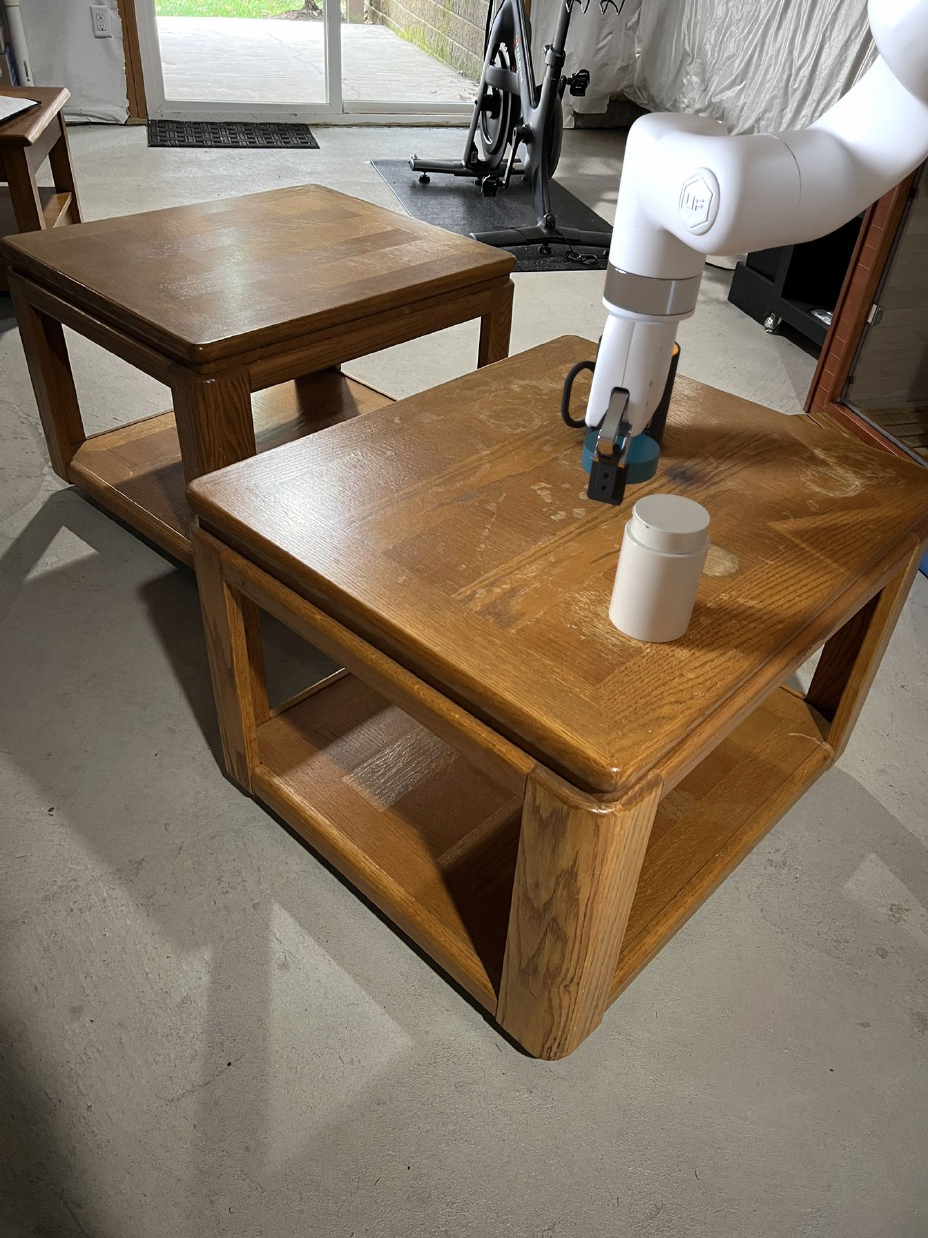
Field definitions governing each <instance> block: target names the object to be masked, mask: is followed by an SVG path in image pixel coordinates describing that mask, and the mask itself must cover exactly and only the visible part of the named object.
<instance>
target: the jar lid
mask: <svg viewBox="0 0 928 1238" xmlns="http://www.w3.org/2000/svg"><path fill="white" fill-rule="evenodd" d="M599 433H600V430H598V431H594V432H592V433H590V434H589V435H587V436H586V435H585V437H584V440H583V445H582V452H581V458H580V459H581V460H580V465H581V467H582V469H583V470H584V471H585V473H586V474H588V475H590V472H591V466H592V460H593V456H594V452H595V449H596V445H597V441H598V437H599ZM624 439H625V437H622V436H618V435H617V443H616V444H619V445H620V448H621V451H622V447H623V443H624ZM660 454H661V447H660V446H659V445H658V444H657V442H655V441H654V440H653V439H652V438H650V437H648V436H646V435H644V434H641V433H640V434H639V435H637V436H634V437H633V441H632V444H631V448H630V452H629V455H628V459H627V463H626V464H630V467H629V472H628V477H627V482H626V486H627V485H629V486H630V485H638V484H643V483H645V482H649V481H650V480H652V479H653V478H654V477H655V476H656V473H657V470H658V466H659V462H660V461H659V460H660Z"/></svg>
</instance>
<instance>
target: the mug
mask: <svg viewBox="0 0 928 1238" xmlns="http://www.w3.org/2000/svg"><path fill="white" fill-rule="evenodd" d="M602 336H603V333H602V334H601V335H600V336H599V338H598V342H597V348H596V355H595V361H592V360H582V361H579V362H578V363H576V364H575V365H573V367H572V368H571V369H570V370H569V372H568V374H566V375H567V376H566V378H565V379H564V383H563V390H562V396H561V404H560V414H561V418H562V421H563V422H564V424H565V425H566V426H567V427H568V428H572V429H582V428H584V435H585V437H586V436H587V435H589V434H590V433H592V432H594V431H598V430H600V429H601V426H602V422H603V418H604V417H603V418H602V419H601V421H600V422H599V424H598V425H597V426H596V427H595V426H593V427H588V426H587V424H586V422H585V418H586V416H585V417H584V418H583V419H580V420H574V419H573V418H572V416H571V415H570V404H571V403H570V402H571V395H572V388H573V383H574V381H575V379H576V377H577V376H578V374H579V373H581V372H582V371H583V370H585V369H587V370H589V371H590V372H591V373H592V378H593V377H594V372H595V367H596V363H597V358H598V353H599V349H600V344H601V340H602ZM681 351H682V350H681V345H680V344H679V342H677V340H675V345H674V350H673V354H672V359H671V364H670V368H669V373H668V377H667V381H666V385H665V388H664V392H663V395H662V398H661V400H660V403H659V405H658V406H657V408H656V410H655V412H654V413H653V415H652V420H651V424H650V427H649V428H647V427H645V428H646V429H650V430H651V431H650V436H649V437H650V438H652V439H653V440H654V441H655V442H657V444H658V445H659V447H660V446H662V443H663V437H664V432H665V428H666V423H667V419H668V415H669V409H670V405H671V401H672V400H671V399H672V394H673V390H674V386H675V379H676V375H677V372H678V371H677V370H678V366H679V361H680V356H681ZM592 382H593V380H592ZM592 382H591V383H592ZM622 423H625V422H622Z"/></svg>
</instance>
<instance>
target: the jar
mask: <svg viewBox="0 0 928 1238" xmlns="http://www.w3.org/2000/svg"><path fill="white" fill-rule="evenodd" d="M631 514H632V517H631V518H629V520H627V522H626V523H625V525H624V531H623V534H622V535H623V536H622V541H621V546H620V551H619V557H618V562H617V567H616V572H615V575H614V576H615V577H614V580H613V581H614V582H613V586H612V591H611V596H610V597H611V598H610V601H609V606H608V617H609V620H610V622H611V624H613V626H614V627H615V628H616V629H617V630H619V631H620V632H621V633H623V634H624V635H626V636H628V637H631V638H632V639H635V640H638V641H642V642H646V643H657V644H659V643H669V642H672V641H673V642H674V641H675V640H678V639H680V638H681V637H683V636H684V635H685V634H686V633H687V631H688V630H689V626H690V623H691V619H692V615H693V612H694V607H695V604H696V600H697V596H698V592H699V588H700V586H701V585H700V584H701V582H702V581H701V580H702V577H703V574H704V569H705V566H706V562H707V558H708V555H709V550H710V547H711V540H712V539H711V536H710V533H709V528H710V525H711V521H712V519H711V515H710V513H709V511H708V510H707V509H706V508H705V507H704V506H703V505H702V504H700V503H698V502H697V501H695V500H693V499H691V498H688V497H684V496H681V495H678V494H677V495H676V494H672V493H671V494H670V493H656V494H649V495H646V496H643V497H641V498H640V499H638V500H637V501H636V502H635V504H634V505H633V506H632V510H631Z"/></svg>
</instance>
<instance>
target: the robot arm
mask: <svg viewBox="0 0 928 1238" xmlns="http://www.w3.org/2000/svg"><path fill="white" fill-rule="evenodd" d="M867 19H868V24H869V28H870V32H871V35H872V39H873V42H874V43H875V46H876V48H877V50H878V52H879V53H878V55H877V57H876V59H875V60H874V61H873V63H872V64H871V65H870V67H869V69H867V71H866V72H865V73H864V74H863V76H862V77H861V78H860V79H859V80H858V81H857V82H856V83H855V84H854V85H853V86H852V87H851V88H850V89H849V90H848V91H847V92H846V93H845V94H844V95H843V96H842V97H840V99H839V100H837V101H836V103H834V104H833V105H832V106H831V107H830V108H829V109H828V110H827V111H826V112H824V113H823V114H822V115H821V116H819V118H818V119H817V120H815V121H814V122H813V123H811V124H810V125H809V126H808V127H806V128H805V129H792V130H779V131H769V132H757V133H752V134H741V135H730V134H729V131H728V129H727V127H726V126H725V125H724V124H723V123H721V122H719V121H718V120H716V119H713V118H710V117H707V116H703V115H699V114H693V113H686V112H675V111H664V112H663V111H659V112H650V113H646V114H643V115H641V116H640V117H638V118H637V119H636V120H635V121H634V122H633V124H632V125H631V127H630V129H629V131H628V135H627V139H626V144H625V150H624V156H623V157H624V158H623V163H622V170H621V177H620V183H619V189H618V195H617V203H616V209H615V215H614V221H613V227H612V235H611V241H610V248H609V255H608V260H607V267H606V273H605V280H604V287H603V293H602V300H601V301H602V305H603V306H604V307H605V308H606V309H607V310H608V311H609V312H608V315H607V318H606V322H605V325H604V329H603V333H602V334H603V336H602V340H601V344H600V349H599V353H598V358H597V363H596V367H595V372H594V377H593V376H592V381H593V382H591V389H590V392H589V398H588V401H587V402H588V403H587V408H586V413H585V417H586V418H585V417H584V418H585V422H586V424H587V426H588V427H593V426H595V427H596V426H597V425H598V424H599V422H600V421H601V419H602V418H603V417H604V418H603V422H602V426H601V429H600V433H599V437H598V441H597V445H596V449H595V452H594V456H593V460H592V466H591V472H590V474H589V478H588V484H587V490H586V496H587V498H588V500H592V501H596V502H600V503H603V504H607V505H611V506H615V507H620V506H621V505H622V504H623V501H624V497H625V491H626V487H627V485H626V482H627V477H628V472H629V467H630V464H626V463H627V459H628V455H629V452H630V448H631V444H632V441H633V437H634V436H637V435H639V434H640V433H641V434H644V435H646V436H648V437H649V436H650V431H651V430H650V429H646V428H645V427H647V428H649V427H650V424H651V420H652V415H653V413H654V412H655V410H656V408H657V406H658V405H659V403H660V400H661V398H662V395H663V392H664V388H665V385H666V381H667V377H668V373H669V368H670V364H671V359H672V354H673V350H674V345H675V341H676V339H677V334H678V328H679V324H680V322H681V321H685V320H688V319H690V318H692V317H693V316H694V314H695V311H696V307H697V302H698V297H699V294H700V293H699V292H700V287H701V283H702V278H703V273H704V270H705V265H706V261H707V256H711V257H731V256H738V255H745V254H750V253H754V252H758V251H759V252H760V251H763V250H768V249H773V248H779V247H785V246H790V245H796V244H802V243H807V242H811V241H812V242H813V241H815V240H817V239H820V238H823V237H825V236H827V235H829V234H832V233H833V232H834V231H836V230H838V229H840V228H841V227H843V226H844V225H845V224H847V223H849V222H850V221H852V219H854V218H856V217H857V216H858V215H860V214H861V213H862V212H864V211H865V210H866V209H868V208H869V207H870V206H871V205H872V204H874V203H876V201H878V200H879V199H880V198H882V197H883V196H885V195H886V194H887V193H888V192H890V191H891V190H892V189H893V188H895V187H896V186H897V185H899V184H900V183H901V182H902V181H903V180H904V179H905V178H907V177H908V176H909V175H911V173H912V172H914V171H915V170H916V169H917V168H918V167H919V166H920V165H921V164H922V163H924V161H925V160H926V159H927V158H928V0H867ZM622 422H625V423H622ZM617 435H618V436H622V437H625V439H624V443H623V447H622V451H621V448H620V445H619V444H616V443H617Z"/></svg>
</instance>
